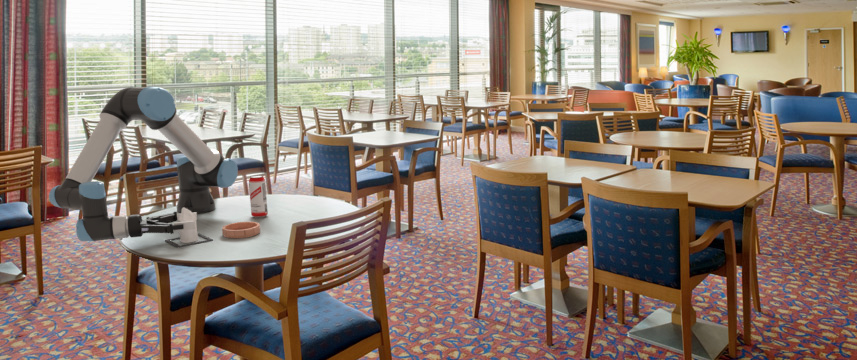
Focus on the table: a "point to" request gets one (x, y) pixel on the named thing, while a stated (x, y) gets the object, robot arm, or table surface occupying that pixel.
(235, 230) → the bowl
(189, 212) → the white tapered upright piece
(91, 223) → the robot arm
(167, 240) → the dark grey square frame
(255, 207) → the beer can
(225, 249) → the table surface
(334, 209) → the table surface
